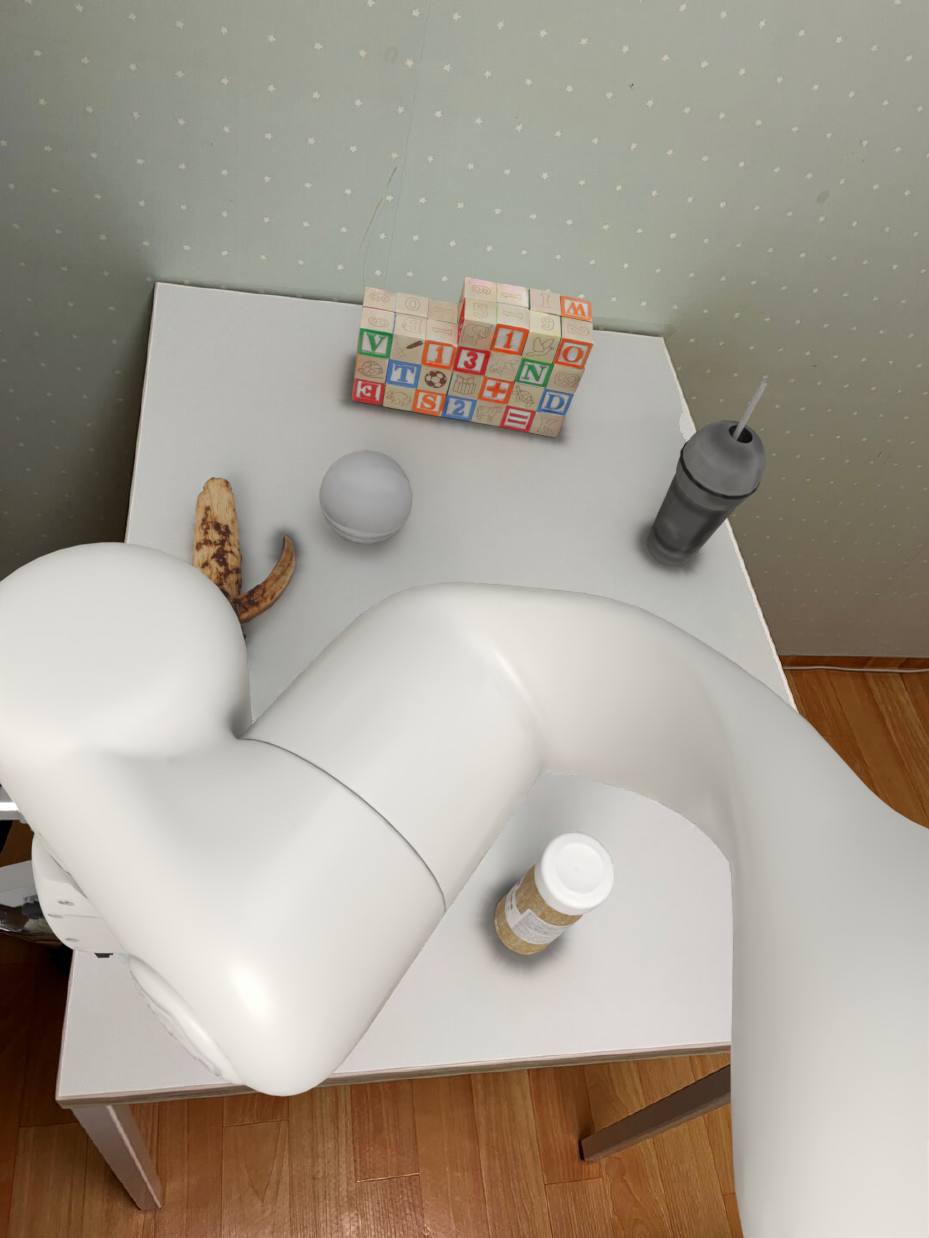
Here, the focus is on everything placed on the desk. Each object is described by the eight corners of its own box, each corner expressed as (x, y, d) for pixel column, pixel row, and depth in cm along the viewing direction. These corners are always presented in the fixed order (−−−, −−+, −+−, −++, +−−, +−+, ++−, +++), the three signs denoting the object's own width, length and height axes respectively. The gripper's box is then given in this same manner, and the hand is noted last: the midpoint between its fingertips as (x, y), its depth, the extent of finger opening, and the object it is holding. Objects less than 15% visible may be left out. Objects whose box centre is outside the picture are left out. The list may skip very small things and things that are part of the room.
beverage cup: (635, 572, 81) (729, 417, 64) (630, 513, 85) (717, 352, 68) (709, 583, 82) (819, 433, 65) (700, 524, 86) (802, 368, 69)
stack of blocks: (349, 403, 86) (360, 299, 76) (356, 361, 89) (368, 255, 79) (558, 438, 89) (595, 342, 79) (557, 396, 92) (592, 299, 82)
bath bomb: (369, 479, 81) (379, 417, 74) (424, 537, 78) (438, 478, 72) (299, 515, 77) (301, 453, 71) (353, 577, 75) (361, 518, 68)
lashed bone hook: (300, 675, 69) (291, 497, 78) (305, 646, 65) (294, 463, 74) (178, 678, 67) (182, 494, 76) (175, 648, 63) (179, 458, 72)
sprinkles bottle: (508, 879, 63) (559, 815, 52) (564, 910, 62) (628, 852, 51) (481, 936, 60) (529, 882, 49) (539, 969, 60) (601, 922, 49)
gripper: (-133, 913, 29) (6, 1007, 43) (388, 903, 32) (356, 994, 46) (-71, 712, 33) (37, 859, 47) (385, 720, 36) (357, 856, 50)
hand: (195, 925), depth 47 cm, fingers closed on product box, 8 cm apart
